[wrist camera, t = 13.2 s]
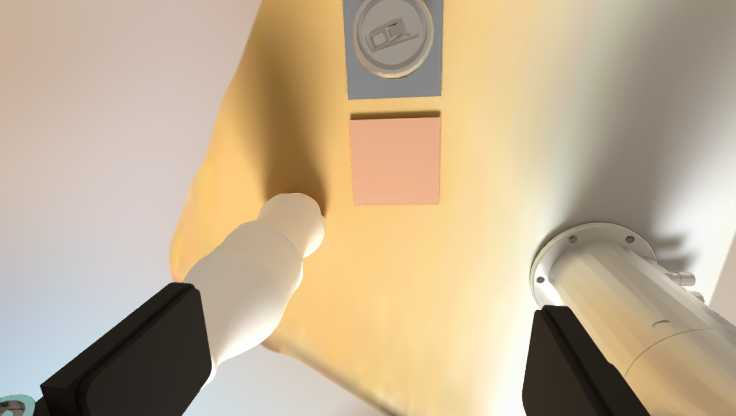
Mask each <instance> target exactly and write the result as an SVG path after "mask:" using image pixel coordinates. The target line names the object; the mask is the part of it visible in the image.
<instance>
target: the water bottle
mask: <svg viewBox="0 0 736 416" xmlns="http://www.w3.org/2000/svg"><path fill="white" fill-rule="evenodd" d="M325 227H326V222H325V218H324V216H322V214H321V212H320V207H319V205H318V203H317V202H316V201H315V200H314V199H312V198H311V197H310V196H308V195H305V194H303V193H289V194H286V193H285V194H284V193H281V194H278V195H276V196H274V197H273V198H271V199H270V200H268V201H267V202H266V203H265V204H264V205H263V207H262V208H261V210H260V212H259V215H258V219H257V220H254V221H249V222H246V223H244V224H242V225H240V226H239V227H237V228H236V229H235V230H234V231H232V232H231V233H230V234H229V235H228V236H227V237H226V239H225V240H224V242H222V243H221V244H220V245H219V246H218V247H217V248H216V249H214V250H213V251H212V252H211V253H210V254H209V255H207V256H205V257H204V258H202V259H200V260H199V261H198V262H197V263H196V264H195V265H194V266H193V267H192V269H191V270H190V271H189V272H188V274H187V275H186V277H185V279H184V281H183V283H191V284H193V285H194V286H195V288H196V289H198V290H199V291H200V294H201V300H202V306H203V312H204V318H205V324H206V330H207V336H208V342H209V348H210V354H211V360H212V371H211V374H210V377H209V378H208V380H207V381H206V383H205V384H204V385H203V387H204V386H205V385H206V384H208V383H209V382H210V381H211V380H212V379H213V378H214V376H215V374H216V372H217V366H218V365H219V364H220V363H221V362H222V361H224V360H226V359H228V358H231V357H233V356H236V355H238V354H240V353H242V352H244V351H246V350H248V349H250V348H252V347H254V346H256V345H258V344H259V343H261V342H262V341H263V340H264V339H266V338H267V337H268V336H269V335H270V334H271V333H272V332H273V331H274V329H275V328H276V327H277V325H278V324H279V322H280V321H281V319H282V316H283V313H284V309H285V307H286V305H287V304H288V302H289V300H290V298H291V296H292V294H293V292H294V291H295V290H296V289H297V287H298V286H299V284H300V282H301V280H302V277H303V258H304V257H306V256H308V255H310V254H311V253H313V252H314V251H315V250H316V249H317V248H318V247H319V245H320V244H321V242H322V240H323V237H324V234H325ZM203 387H202V388H201V389H203Z"/></svg>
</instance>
